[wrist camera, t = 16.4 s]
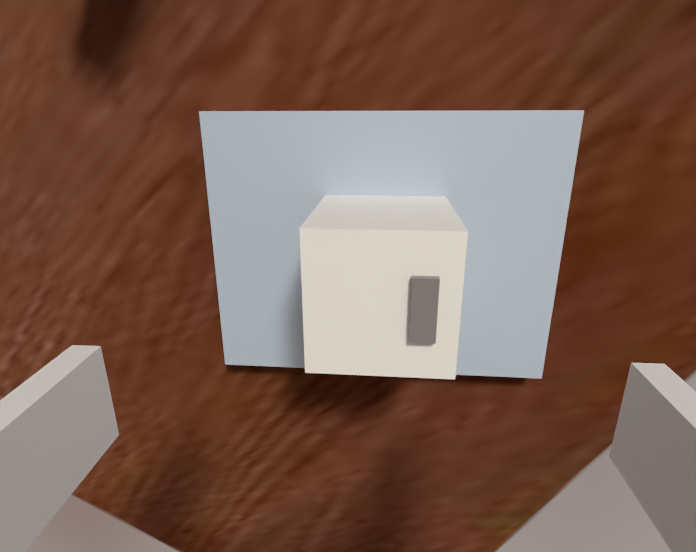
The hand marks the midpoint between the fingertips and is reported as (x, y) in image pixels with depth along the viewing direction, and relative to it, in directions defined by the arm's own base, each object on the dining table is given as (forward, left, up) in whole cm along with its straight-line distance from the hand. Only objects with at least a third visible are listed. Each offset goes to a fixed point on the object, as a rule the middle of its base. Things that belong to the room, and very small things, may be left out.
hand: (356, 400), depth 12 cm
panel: (0, 0, -15) cm, 15 cm away
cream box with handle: (0, 0, -13) cm, 13 cm away
